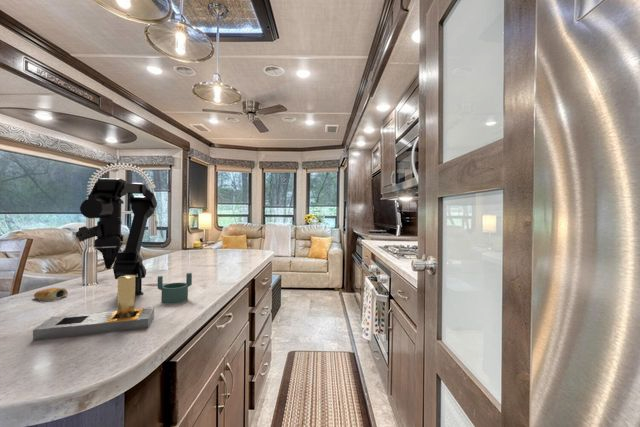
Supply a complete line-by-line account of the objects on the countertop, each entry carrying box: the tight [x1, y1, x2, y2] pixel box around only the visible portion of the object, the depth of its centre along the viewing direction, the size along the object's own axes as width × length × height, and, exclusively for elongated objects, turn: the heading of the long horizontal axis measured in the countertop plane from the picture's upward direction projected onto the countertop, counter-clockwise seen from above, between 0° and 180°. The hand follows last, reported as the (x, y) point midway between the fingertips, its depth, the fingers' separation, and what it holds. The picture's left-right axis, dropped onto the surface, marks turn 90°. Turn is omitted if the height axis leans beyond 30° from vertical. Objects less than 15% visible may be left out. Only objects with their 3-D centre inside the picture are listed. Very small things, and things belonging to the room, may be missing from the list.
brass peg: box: [116, 275, 136, 319], centre depth 81 cm, size 4×4×13 cm
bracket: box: [157, 272, 193, 305], centre depth 103 cm, size 9×9×9 cm
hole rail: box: [32, 307, 155, 341], centre depth 78 cm, size 24×9×3 cm, turn 111°
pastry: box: [33, 287, 69, 302], centre depth 103 cm, size 9×7×4 cm
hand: (109, 266), depth 94 cm, fingers open, 9 cm apart
